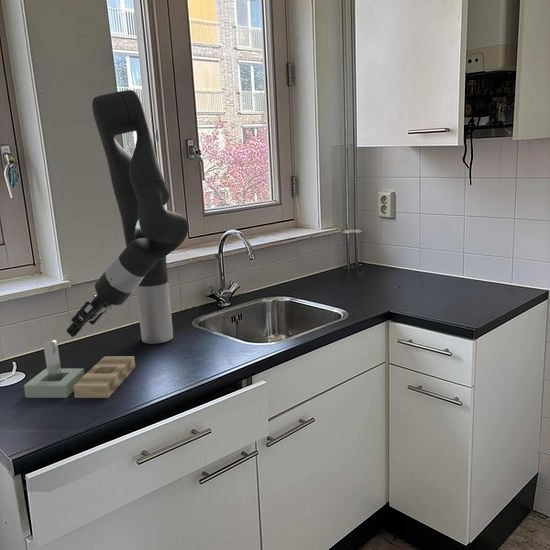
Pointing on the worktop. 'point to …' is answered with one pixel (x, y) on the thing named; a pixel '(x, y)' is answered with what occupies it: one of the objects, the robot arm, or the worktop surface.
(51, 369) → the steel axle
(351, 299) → the worktop surface
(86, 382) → the notched wooden block
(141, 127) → the robot arm
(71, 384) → the holder block
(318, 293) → the worktop surface
